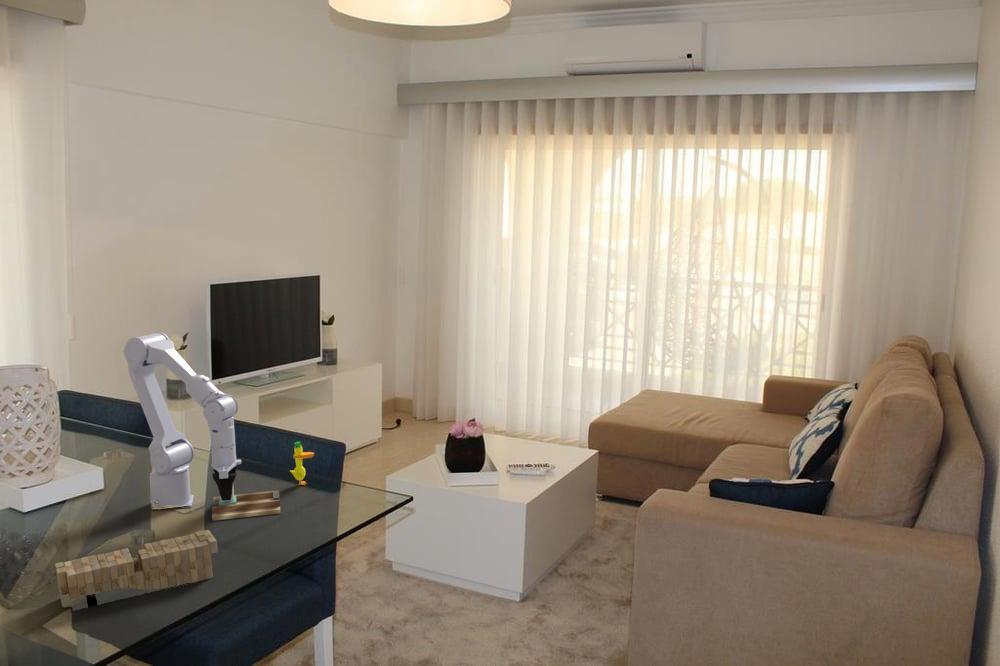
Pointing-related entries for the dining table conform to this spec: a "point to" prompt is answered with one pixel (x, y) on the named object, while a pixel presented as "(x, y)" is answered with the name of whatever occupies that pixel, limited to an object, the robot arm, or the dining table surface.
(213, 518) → the track
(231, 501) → the slider
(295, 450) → the toy figure
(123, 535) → the dining table surface
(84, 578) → the block tower
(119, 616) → the dining table surface
